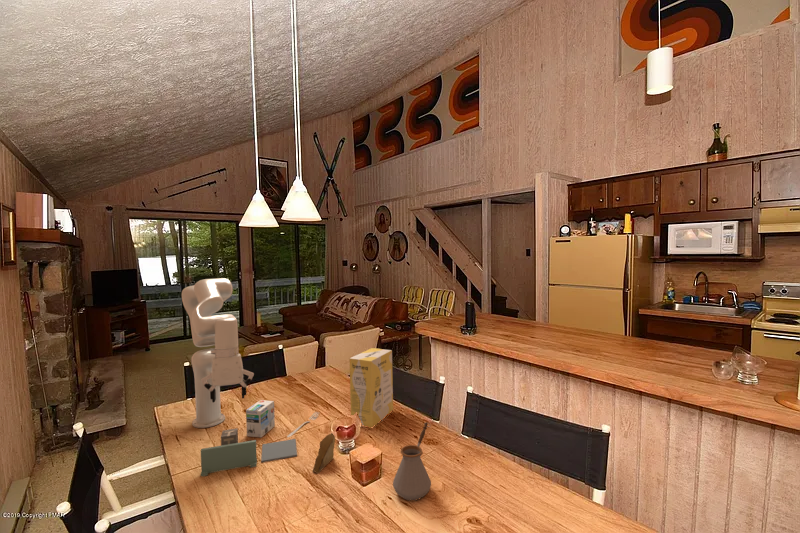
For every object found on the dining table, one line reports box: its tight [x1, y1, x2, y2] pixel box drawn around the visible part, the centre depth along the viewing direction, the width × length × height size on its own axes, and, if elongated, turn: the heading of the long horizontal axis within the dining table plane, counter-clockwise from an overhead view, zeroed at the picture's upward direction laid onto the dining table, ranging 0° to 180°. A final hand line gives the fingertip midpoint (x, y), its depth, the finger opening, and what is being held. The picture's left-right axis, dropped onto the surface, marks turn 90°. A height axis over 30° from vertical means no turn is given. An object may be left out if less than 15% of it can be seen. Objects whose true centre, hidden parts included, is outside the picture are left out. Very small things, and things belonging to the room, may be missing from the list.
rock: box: [312, 433, 336, 473], centre depth 129 cm, size 11×9×10 cm
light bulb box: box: [245, 399, 276, 438], centre depth 153 cm, size 11×7×11 cm, turn 168°
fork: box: [286, 411, 321, 438], centre depth 157 cm, size 3×24×2 cm, turn 159°
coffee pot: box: [392, 421, 432, 501], centre depth 117 cm, size 21×12×15 cm, turn 158°
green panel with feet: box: [200, 439, 258, 477], centre depth 127 cm, size 4×17×8 cm, turn 108°
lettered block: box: [220, 428, 239, 446], centre depth 136 cm, size 6×5×8 cm
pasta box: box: [348, 347, 394, 427], centre depth 163 cm, size 18×10×28 cm, turn 153°
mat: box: [260, 438, 298, 463], centre depth 138 cm, size 12×12×1 cm
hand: (228, 399), depth 136 cm, fingers open, 9 cm apart
